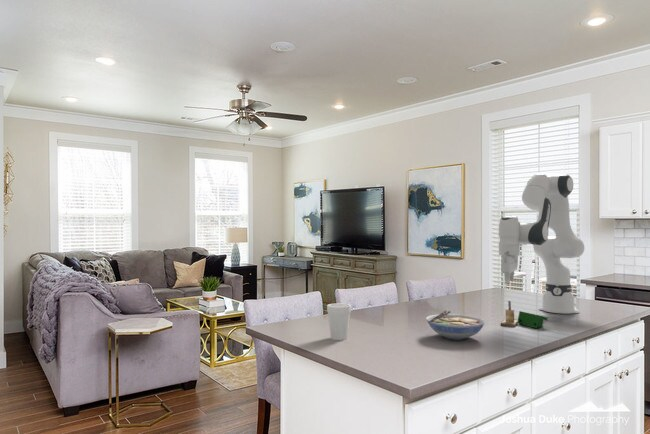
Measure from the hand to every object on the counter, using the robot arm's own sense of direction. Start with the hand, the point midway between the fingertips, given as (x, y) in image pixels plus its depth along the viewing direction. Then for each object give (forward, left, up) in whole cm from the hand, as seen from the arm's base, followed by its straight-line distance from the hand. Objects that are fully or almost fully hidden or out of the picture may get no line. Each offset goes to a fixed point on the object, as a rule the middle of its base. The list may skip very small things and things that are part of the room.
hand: (509, 281), depth 210 cm
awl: (0, 0, -18) cm, 18 cm away
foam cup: (+64, -53, -19) cm, 85 cm away
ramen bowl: (+39, -14, -19) cm, 46 cm away
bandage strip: (0, 0, -19) cm, 19 cm away
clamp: (-1, +10, -20) cm, 22 cm away
